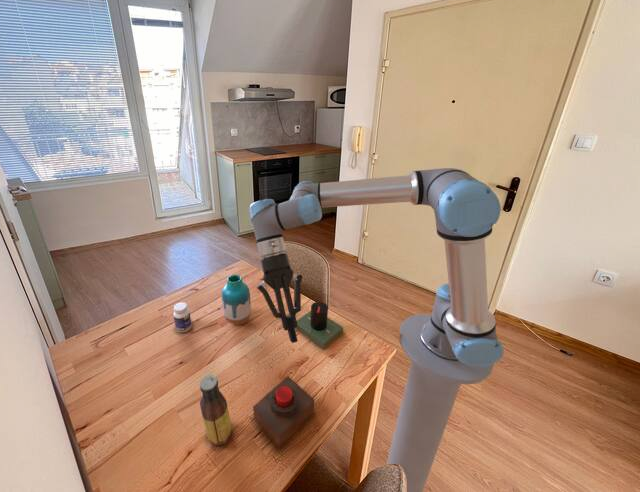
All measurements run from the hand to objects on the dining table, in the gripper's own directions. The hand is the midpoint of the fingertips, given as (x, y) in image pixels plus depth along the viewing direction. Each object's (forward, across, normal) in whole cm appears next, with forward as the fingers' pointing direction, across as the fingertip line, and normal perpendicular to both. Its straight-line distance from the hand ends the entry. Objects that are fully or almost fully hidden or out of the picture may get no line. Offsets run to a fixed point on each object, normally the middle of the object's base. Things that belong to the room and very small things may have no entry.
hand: (293, 340), depth 79 cm
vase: (-2, -12, +39) cm, 41 cm away
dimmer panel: (+7, +15, +28) cm, 32 cm away
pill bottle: (-5, -32, +40) cm, 51 cm away
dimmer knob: (+5, +16, +26) cm, 31 cm away
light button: (+14, -6, +1) cm, 15 cm away
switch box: (+20, -6, +5) cm, 21 cm away
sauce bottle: (+18, -24, +5) cm, 30 cm away
